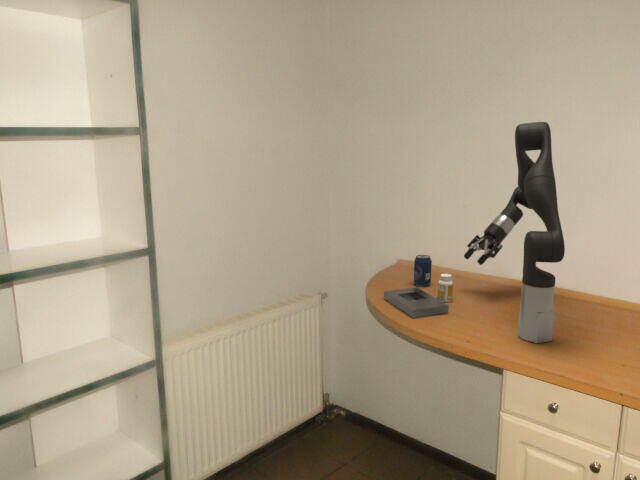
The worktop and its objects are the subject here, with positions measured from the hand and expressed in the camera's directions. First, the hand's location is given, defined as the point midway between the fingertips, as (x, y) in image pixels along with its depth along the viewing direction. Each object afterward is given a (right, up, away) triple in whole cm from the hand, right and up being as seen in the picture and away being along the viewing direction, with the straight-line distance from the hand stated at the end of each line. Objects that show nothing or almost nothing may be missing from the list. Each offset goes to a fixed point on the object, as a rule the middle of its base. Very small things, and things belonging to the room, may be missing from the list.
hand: (472, 260), depth 197 cm
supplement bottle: (-10, -15, -1) cm, 18 cm away
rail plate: (-23, -16, -7) cm, 29 cm away
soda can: (-15, -11, +18) cm, 26 cm away
